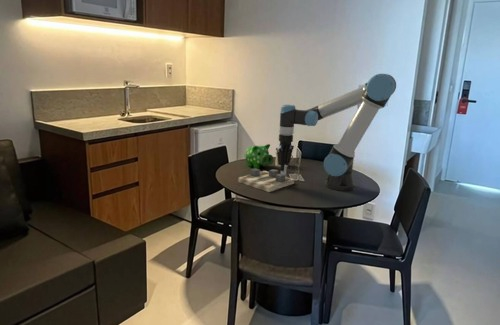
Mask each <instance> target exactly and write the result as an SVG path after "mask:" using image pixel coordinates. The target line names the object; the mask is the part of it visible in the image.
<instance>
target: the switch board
mask: <svg viewBox="0 0 500 325" xmlns="http://www.w3.org/2000/svg"><path fill="white" fill-rule="evenodd" d="M275 180H276V177H271V176H269V171H267V170H262V171H261V170H260V175H258V176H252V175H250V174H247V175H244V176H239V177H238V182H237V183H240V184H243V185H245V186H249V187H253V188H255V189H259V190H261V191H265V192H267V193H270V192H274V191H277V190H279V189H282V188H284V187H285V188H286V187H288V186H291V185H293V184H295V178H291V177H289V176H286V177H285V181H282V182H279V181H275Z"/></svg>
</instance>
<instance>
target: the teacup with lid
mask: <svg viewBox="0 0 500 325" xmlns="http://www.w3.org/2000/svg"><path fill="white" fill-rule="evenodd" d="M293 160H294V155H291V160H290V163H291V162H292V161H293ZM290 163H288V164H289V165H290ZM274 164H275V167H278V168H281V165H279V164H278V157H277V151H275V163H274ZM289 165H287V168H288V167H289Z"/></svg>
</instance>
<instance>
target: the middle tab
mask: <svg viewBox="0 0 500 325" xmlns="http://www.w3.org/2000/svg"><path fill="white" fill-rule="evenodd" d="M268 172H269V176H271V177H276V175H277V174H279V170H278V169H269V171H268Z"/></svg>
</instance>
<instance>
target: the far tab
mask: <svg viewBox="0 0 500 325" xmlns="http://www.w3.org/2000/svg"><path fill="white" fill-rule="evenodd" d="M249 171H250V174H249V175H252V176H258V175H260V172H261V169H260V168H259V169H256V168H254V167H253V168H251V169H250V170H249Z"/></svg>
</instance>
